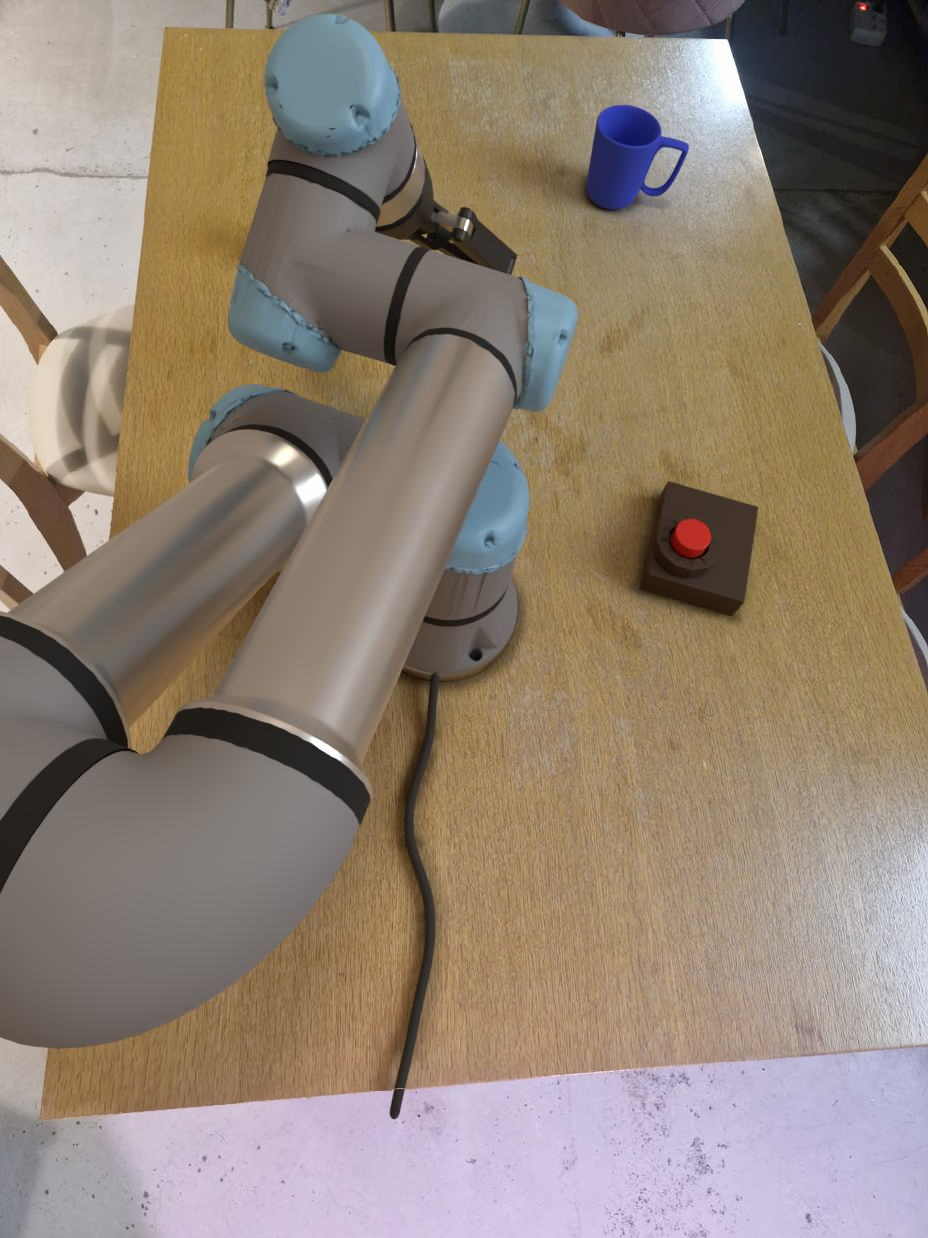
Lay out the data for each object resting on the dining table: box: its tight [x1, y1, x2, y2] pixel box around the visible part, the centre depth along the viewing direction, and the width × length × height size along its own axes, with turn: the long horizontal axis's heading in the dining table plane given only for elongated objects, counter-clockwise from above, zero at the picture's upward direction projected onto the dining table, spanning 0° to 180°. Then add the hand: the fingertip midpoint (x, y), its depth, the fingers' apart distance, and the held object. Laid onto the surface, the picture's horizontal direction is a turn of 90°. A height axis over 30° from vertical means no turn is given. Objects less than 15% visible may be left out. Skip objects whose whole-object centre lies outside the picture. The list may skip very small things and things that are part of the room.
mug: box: [586, 104, 690, 211], centre depth 110 cm, size 8×12×10 cm
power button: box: [671, 519, 711, 558], centre depth 85 cm, size 4×4×2 cm
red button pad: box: [639, 480, 759, 617], centre depth 89 cm, size 12×10×5 cm
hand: (421, 260), depth 85 cm, fingers open, 13 cm apart
